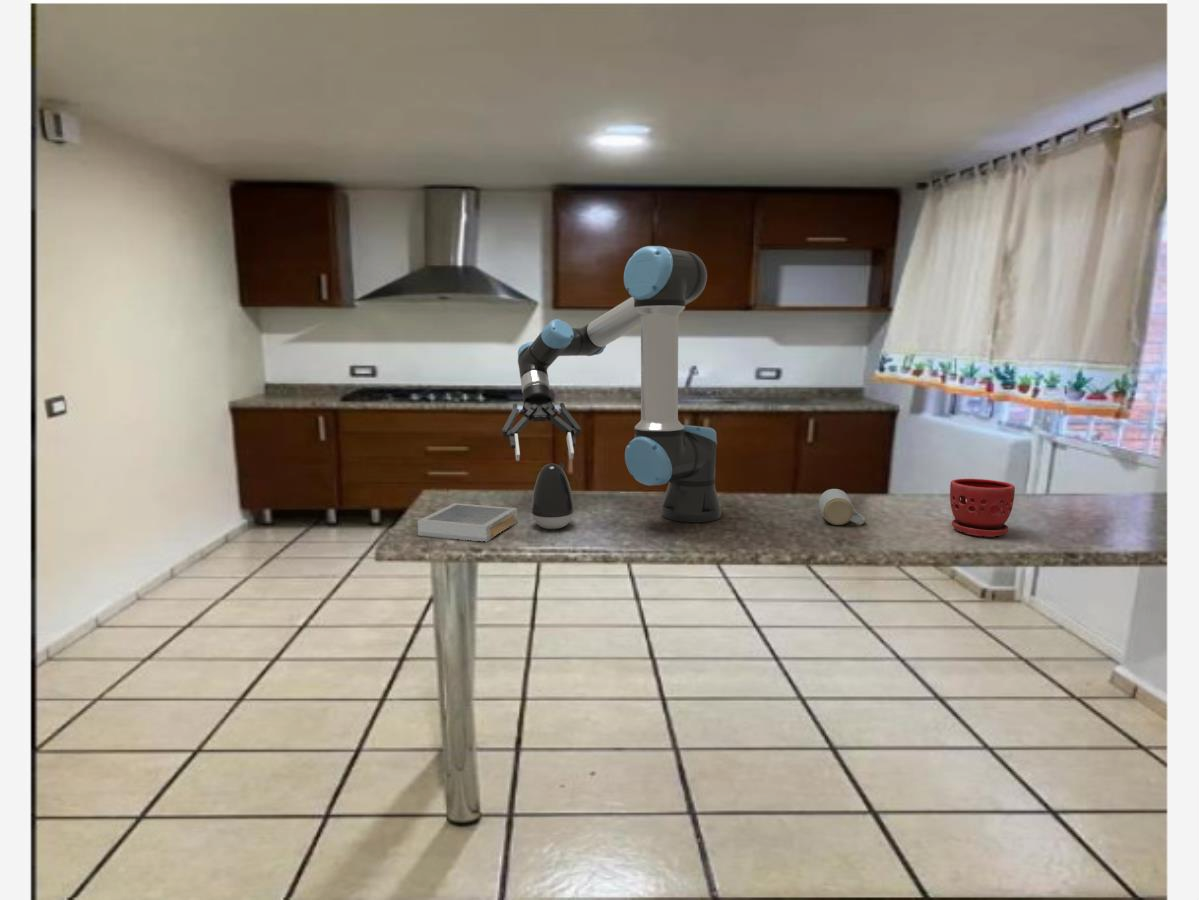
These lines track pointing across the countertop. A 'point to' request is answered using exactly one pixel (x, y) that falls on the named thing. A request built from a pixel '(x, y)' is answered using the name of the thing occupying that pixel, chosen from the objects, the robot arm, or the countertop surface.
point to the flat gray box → (467, 522)
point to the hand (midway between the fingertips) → (545, 457)
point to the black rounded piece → (552, 498)
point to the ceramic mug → (838, 508)
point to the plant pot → (981, 506)
